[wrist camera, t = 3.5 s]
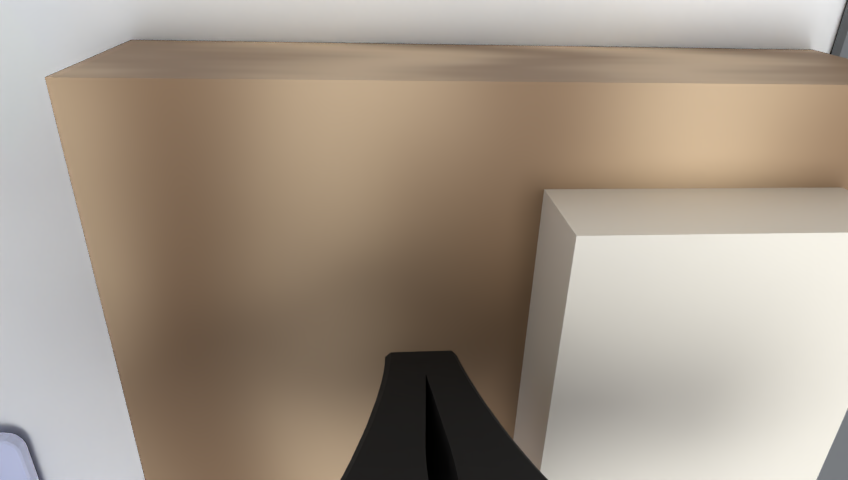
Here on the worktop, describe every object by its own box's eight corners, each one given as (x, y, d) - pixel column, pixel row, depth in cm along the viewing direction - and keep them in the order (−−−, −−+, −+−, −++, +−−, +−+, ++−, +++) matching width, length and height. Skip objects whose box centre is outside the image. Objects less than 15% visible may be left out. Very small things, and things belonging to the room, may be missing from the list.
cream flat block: (507, 490, 15) (525, 564, 13) (544, 189, 11) (576, 236, 10) (738, 479, 15) (785, 549, 14) (841, 187, 12) (925, 231, 10)
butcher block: (220, 531, 20) (189, 656, 17) (130, 39, 13) (44, 77, 10) (674, 508, 22) (733, 619, 18) (812, 49, 15) (954, 85, 11)
